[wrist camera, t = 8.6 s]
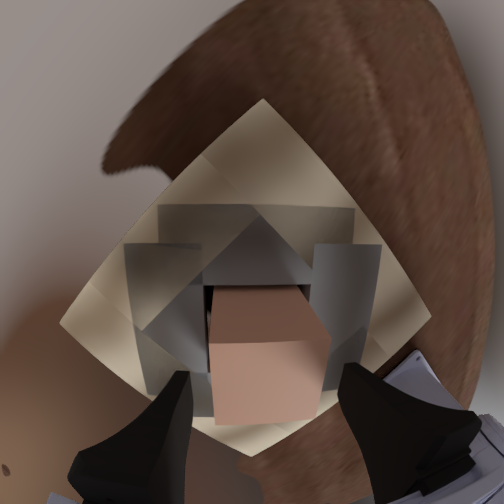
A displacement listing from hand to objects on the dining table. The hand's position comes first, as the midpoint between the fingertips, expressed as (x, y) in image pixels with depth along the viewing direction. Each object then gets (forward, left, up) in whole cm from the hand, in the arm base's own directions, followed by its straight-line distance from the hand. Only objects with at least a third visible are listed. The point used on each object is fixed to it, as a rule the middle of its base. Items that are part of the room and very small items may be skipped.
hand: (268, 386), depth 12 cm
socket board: (0, 0, -8) cm, 8 cm away
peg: (0, 0, -8) cm, 8 cm away
